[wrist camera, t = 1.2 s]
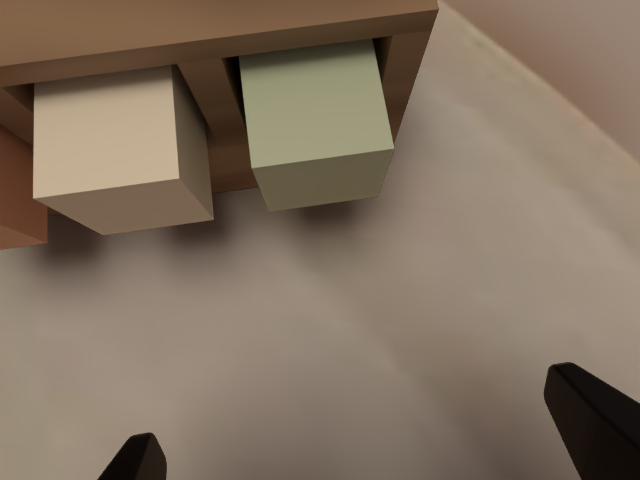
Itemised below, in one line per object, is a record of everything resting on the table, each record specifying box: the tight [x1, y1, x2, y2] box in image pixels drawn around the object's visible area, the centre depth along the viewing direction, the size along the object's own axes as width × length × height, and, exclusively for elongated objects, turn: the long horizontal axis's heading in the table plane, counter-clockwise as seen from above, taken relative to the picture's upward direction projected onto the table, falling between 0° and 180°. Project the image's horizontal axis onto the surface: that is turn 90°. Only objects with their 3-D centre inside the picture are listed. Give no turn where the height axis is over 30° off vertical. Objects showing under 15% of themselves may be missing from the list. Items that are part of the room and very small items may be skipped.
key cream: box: [33, 64, 214, 235], centre depth 15 cm, size 6×4×4 cm, turn 8°
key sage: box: [239, 38, 394, 212], centre depth 15 cm, size 6×4×4 cm, turn 8°
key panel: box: [0, 0, 439, 216], centre depth 18 cm, size 8×19×11 cm, turn 98°
